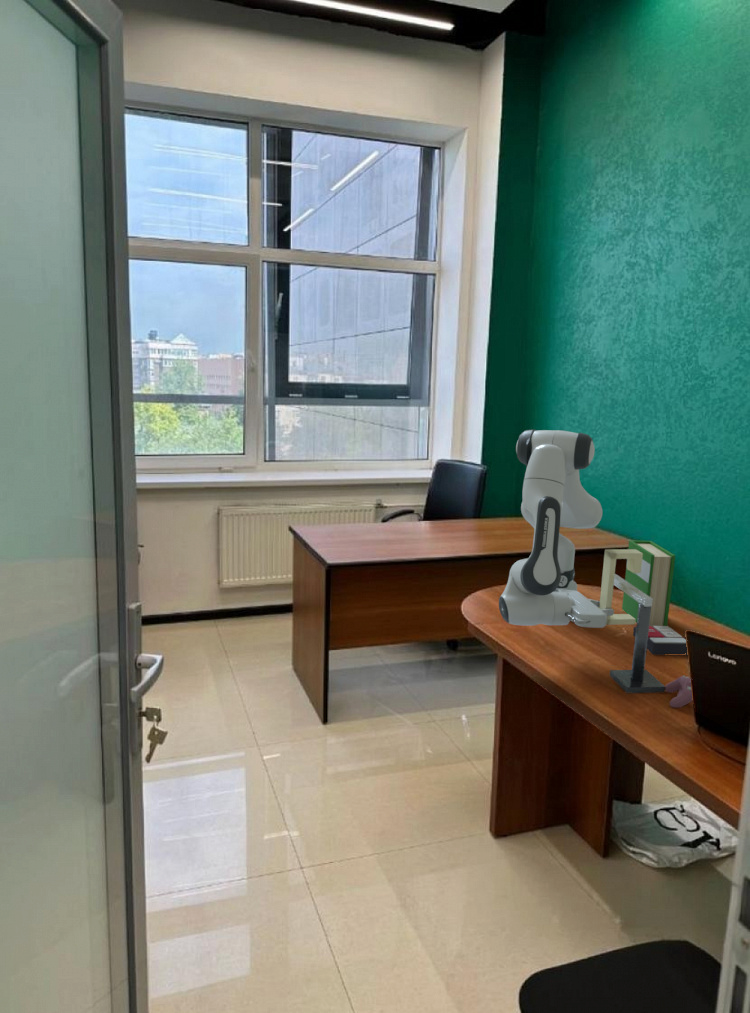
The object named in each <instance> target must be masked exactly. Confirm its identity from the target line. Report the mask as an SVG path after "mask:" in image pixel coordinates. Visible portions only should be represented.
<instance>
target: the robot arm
mask: <svg viewBox="0 0 750 1013" xmlns="http://www.w3.org/2000/svg"><path fill="white" fill-rule="evenodd" d="M515 452H516V457H517V459H518V461H519V462H520V463H521V464H523V465H525V466H526V470H525V473H524V478H523V484H522V498H521V499H522V502H521V504H520V505H521V506H520V511H521V512H520V513H521V515H522V517H523V518H524V520H525V521H526V522H527V523H528V524H530V526H531V527H532V528H533V530H534V532H533V540H532V550H531V553H530V555H529V557H527V558H523V559H519V560H516V562H514V563H513V564H512V565H511V567H510V568H509V572H508V578H507V579H508V580H507V582H506V586H505V588H504V590H503V592H502V593H501V595H500V596H499V598H498V609H499V613H500V615H501V617H502V619H503V620H504V621H505V622H506V623H508V624H510V625H513V626H514V625H515V626H529V627H530V626H532V627H533V626H538V625H546V626H567V625H569V624H570V621H571V622H572V623H574V624H575V625H576V626H578V627H582V628H592V629H595V628H599V629H600V628H606V626H607V625H606V622H607V616H612V615H613V614H615V613H614V612H615V610H614V609H613V608H612V607H611V608H605V609H599V605H600V600H596V599H592V598H587V597H586V596H585V595H583V593H581V592H580V591H578V584H577V582H576V581H575V580H574V579H575V576H576V575H575V574H576V572H575V570H576V569H575V567H574V566H575V565H574V564H575V554H576V546H575V544H574V543H573V542H572V540H571V539H569V538H568V537H566V536H564V535H563V534H562V533H560V528H567V529H576V530H577V529H578V530H581V529H582V530H583V529H593V528H596V527H597V526H598V525H599V524H600V521H601V520H602V517H603V508H602V505H601V502H600V501H599V500H598V499H597V498H595V497H594V496H592V495H591V494H590V493H589V492H588V491H587V490H585V488H584V487H583V486H582V483H581V480H580V479H581V478H580V470H585V469H586V468H587V467H589V466H590V465H591V462H592V461H593V460H594V456H595V452H596V451H595V444H594V440H593V438H592V437H591V436H590V435H589V434H586V433H583V432H579V433H578V432H572V431H569V430H568V431H567V430H558V429H557V430H553V429H552V430H549V429H548V430H546V429H542V430H536V429H526V430H524V431H523V432H521V434H519V436H518V440H517V442H516V445H515Z"/></svg>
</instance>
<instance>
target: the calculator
mask: <svg viewBox="0 0 750 1013" xmlns="http://www.w3.org/2000/svg"><path fill="white" fill-rule="evenodd" d="M635 634H636V626H633V631H632V636H633V637H634V638H635ZM686 640H687V639H686V638H684V637H683V636H682V635H681V634H679V633H678V632H677V631H675V630H674V629H673V628H671V627H670V626H669V625H667V626H653V627H652V626H649V632H648V641H647V650H646V651H648V652H650V654H652V655H654V656H666V655H665V654H685V653H686V655H685V656H688V655H687V647H686Z"/></svg>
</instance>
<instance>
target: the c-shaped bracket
mask: <svg viewBox="0 0 750 1013" xmlns="http://www.w3.org/2000/svg"><path fill="white" fill-rule="evenodd" d="M642 557H643V553H641V552H640V551H638V550H636V549H628V548H626V549H625V548H623V549H622V548H620V549H616V548H615V549H613V548H612V549H609V548H608V549H604V555H603V563H602V564H603V567H602V574H601V575H602V576H601V587H600V596H599V601H600V605H599V609H605V608H612V604H613V596H614V586H615V585H614V576H615V574H616V565H617V560H622V559H623V560H626V566H627V569H628V570H629V571H631V572H632V573H641V566H642ZM627 559H628V561H627ZM635 620H636V619H635V618H634V617H632V616H631V615H630V614H626V613H614V614H613V615H612V616H607V622H606V626H608V625H609V626H611V625H612V626H613V625H614V626H616V625H620V626H621V625H636V622H635Z"/></svg>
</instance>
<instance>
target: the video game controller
mask: <svg viewBox="0 0 750 1013" xmlns="http://www.w3.org/2000/svg"><path fill="white" fill-rule="evenodd" d="M690 678H691V677H689V676H685V675H682V676H679V677H678V678H676V679H674V680H672V681H670V682H669V683H667V684H665V685H664V686H665V692H666V693H677V694H676V696H675V697H673V698H672V699H671V700H670V701H669V706H670V707H671V708H673V709H674V708H682V707H684V706H686V705H688V704H689V703H691V702H693V701H692V690H691V679H692V678H691V679H690Z"/></svg>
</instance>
